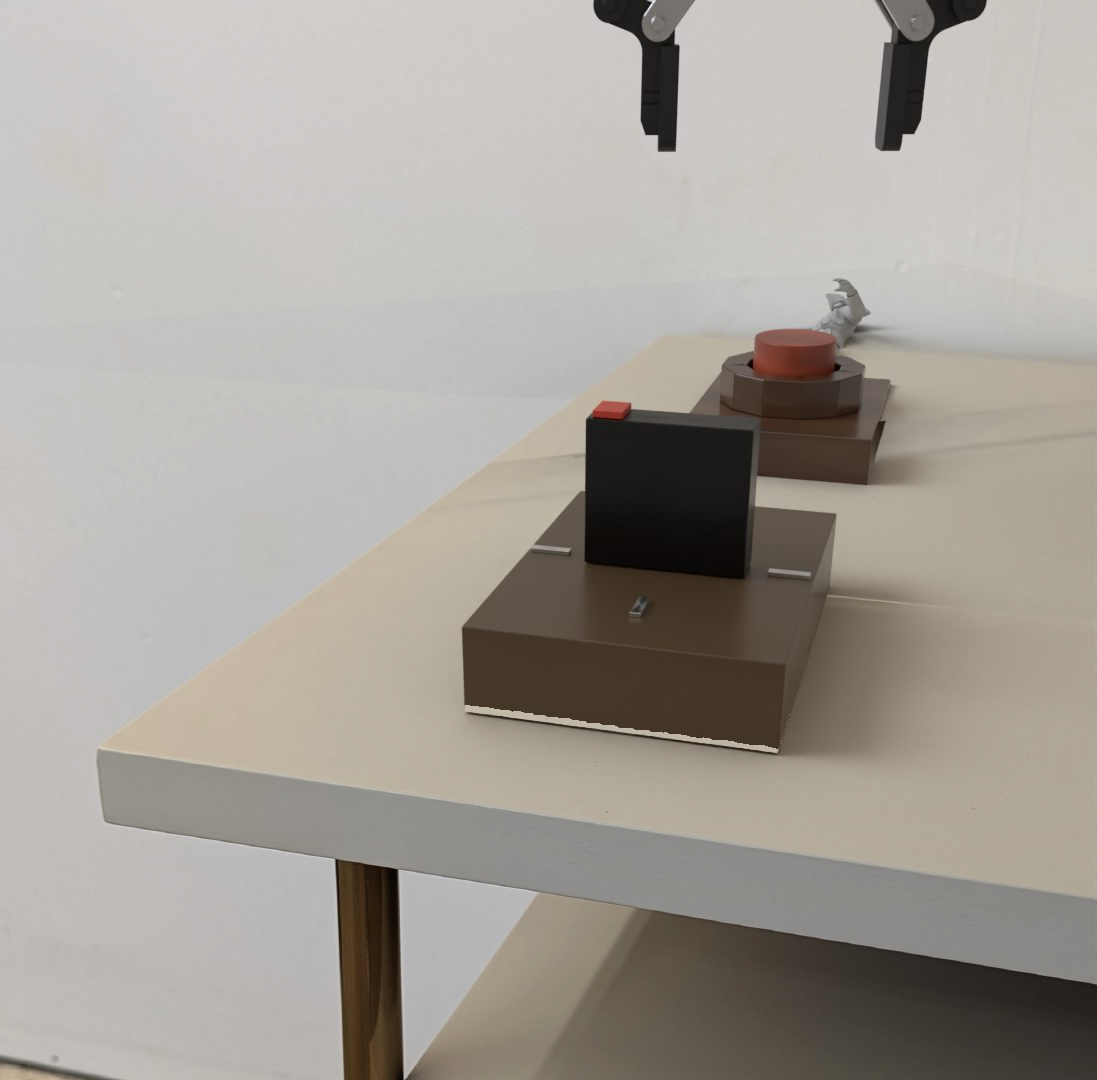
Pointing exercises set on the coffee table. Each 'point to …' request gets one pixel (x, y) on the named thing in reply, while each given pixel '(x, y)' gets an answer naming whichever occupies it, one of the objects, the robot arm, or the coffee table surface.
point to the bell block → (805, 418)
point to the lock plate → (654, 634)
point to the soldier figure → (842, 313)
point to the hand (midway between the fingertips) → (775, 150)
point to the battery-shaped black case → (670, 490)
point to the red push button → (794, 352)
